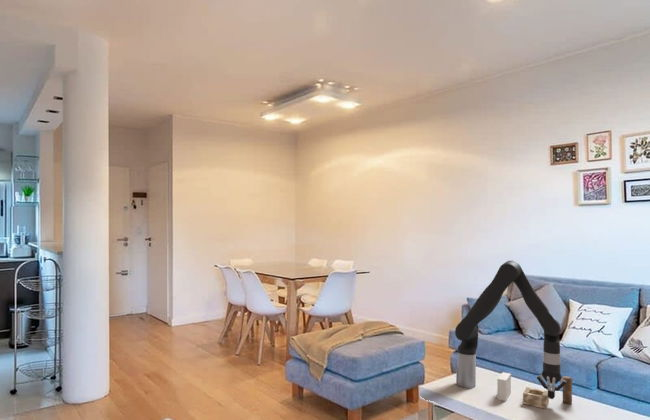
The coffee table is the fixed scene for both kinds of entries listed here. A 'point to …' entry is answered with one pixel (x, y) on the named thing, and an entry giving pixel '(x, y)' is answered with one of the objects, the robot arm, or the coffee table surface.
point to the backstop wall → (504, 386)
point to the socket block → (535, 397)
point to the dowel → (567, 390)
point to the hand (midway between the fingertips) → (551, 398)
